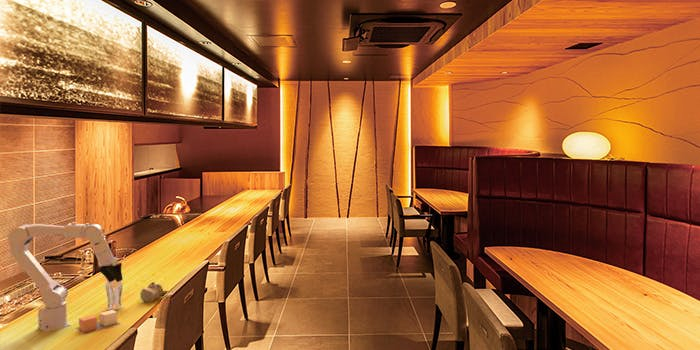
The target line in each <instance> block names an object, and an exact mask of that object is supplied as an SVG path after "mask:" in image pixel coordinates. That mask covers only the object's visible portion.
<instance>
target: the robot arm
mask: <svg viewBox="0 0 700 350" xmlns="http://www.w3.org/2000/svg"><path fill="white" fill-rule="evenodd" d="M103 232H104V229H103V227H102V225H101V224H99V223H91V224H89V222H88V223H77V222H76V221H72V222H70V223H67V224H66V225H54V224H45V223H25V224H24V223H23V224H22V225H20V226H18V227H15V228H13V229H11V230H10V232H9V233H8V237H7V238H6V239H7V241H8V243H9V253H10V255H11V256H12V258H13V259H14V260H15V262H17V264H18V265H19V266H20V267H21V268H22V269H23V270H24V272H25V273H26V275H27V276H29V278H30V279H31V280H32V282H33V283H34V284H35V285H36V287H38V289H39V294H40V296H41V299H42V302H43V304H44V307H42V308H39V309H38V313H37V319H38V320H37V321H38V322H37V323H38V326H37V328H38V329H39V330H41V331H43V332H44V333H47V332H51V331H55V330H58V329H59V330H60V329H62V328H66V327H70V326H71V324H70V323H69V322H68V320H67V319H68V316H67V301H66V298H67V296H68V293H69V291H68V289H67V288H66V286H63V285H61V284H60V283H59V282H58V281H55V280H53V279H52V277H51V276H50V275H49V274H48V272H47V271H46V270H45V269H44V267H43V266H41V264H40V263H39V262H38V261H37V259H36V258H35V256H34V255H33V254H32V253H31V252H30V250H29V247H30V243H31V241H32V240H33V239H34V238H35V237H37V236H39V235H64V236H65V237H66V238H70V239H86V240H88V241H89V243H90V246H91V248H92V250H93V252H94V255H95V257H96V259H97V262H98V263H97V264H98V266H99V268H98V269H97V271H98V272H99V273H101V274H102V275H103V276H104V277H105V279H106V278H107V280H108V281H109V282H112V281H114V280H116V281H117V282H119V281H121V280H123V273H122V266H123V263H122V262H119V261H118V256H114V255H113V254H114V253H112V250H111V248H110V246H109V244H108V241H107V239H106V238H105V235H104V233H103ZM123 281H124V280H123Z"/></svg>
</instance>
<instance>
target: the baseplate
mask: <svg viewBox="0 0 700 350" xmlns="http://www.w3.org/2000/svg"><path fill="white" fill-rule="evenodd" d="M119 325H121V323H120V322H118V321H117V323H114V324H110V325H107V326H103V325H102V324H100V321H97V328H96V329H92V330H89V331H85V332H83V331H81V330H80V329H79V326H78V327H76V328H75V329H76V330H78V331H79V332H80V333H82V334H84V335H86V334H91V333H94V332H99V331H101V330H104V329H108V328H111V327H115V326H119Z"/></svg>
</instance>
